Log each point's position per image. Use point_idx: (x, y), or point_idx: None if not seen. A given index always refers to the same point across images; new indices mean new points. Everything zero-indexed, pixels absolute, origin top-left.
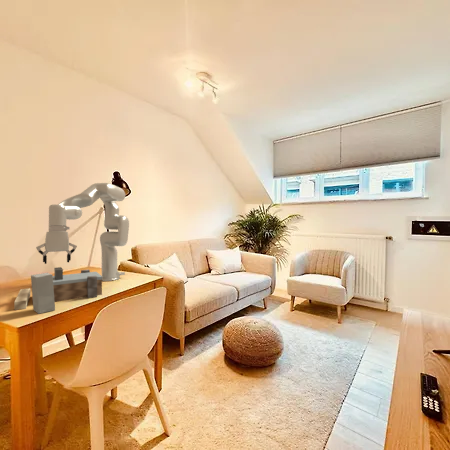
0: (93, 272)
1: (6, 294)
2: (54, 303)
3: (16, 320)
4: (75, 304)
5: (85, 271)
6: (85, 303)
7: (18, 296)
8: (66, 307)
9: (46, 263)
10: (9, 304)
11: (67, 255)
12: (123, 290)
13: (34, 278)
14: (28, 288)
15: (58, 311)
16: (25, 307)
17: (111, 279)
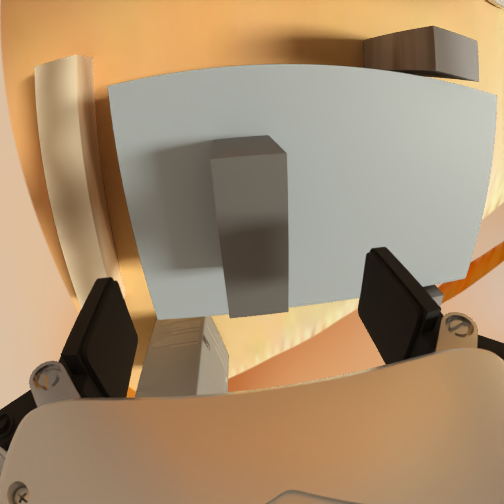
0: (482, 117)
1: (5, 13)
2: (227, 372)
3: (139, 377)
4: (295, 320)
5: (453, 75)
6: (327, 322)
7: (62, 233)
8: (263, 338)
9: (136, 337)
10: (45, 203)
11: (396, 357)
12: (483, 214)
13: None
14: (67, 58)
15: (238, 362)
16: (123, 296)
17: (498, 5)
